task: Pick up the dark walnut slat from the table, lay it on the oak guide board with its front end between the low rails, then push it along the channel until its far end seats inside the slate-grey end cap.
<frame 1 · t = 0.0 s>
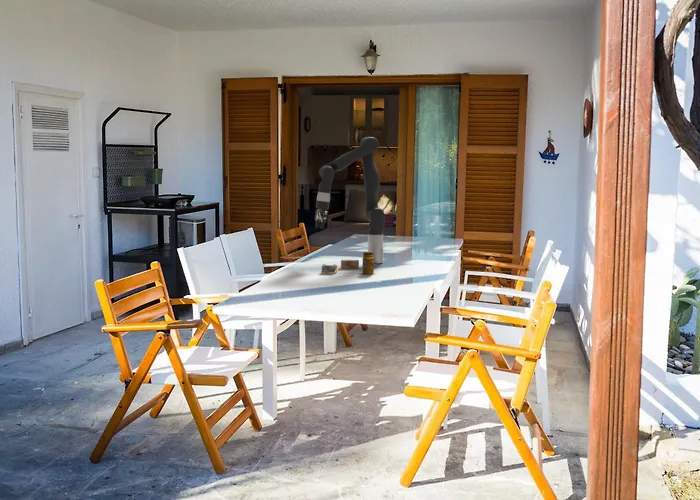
hand: (319, 228, 405), 22 cm above the table, tool pointing down, fingers open, 8 cm apart
guide board: (330, 270, 391), on the table
condiment: (366, 274, 380), on the table
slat: (349, 268, 399), on the table
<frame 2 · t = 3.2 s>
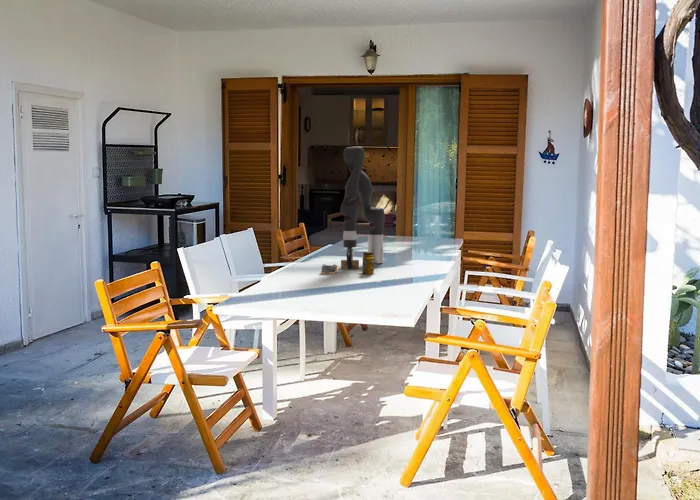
hand: (349, 268, 398), 0 cm above the table, tool pointing down, fingers closed on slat, 3 cm apart
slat: (349, 268, 398), on the table, touching gripper
everything else where it was.
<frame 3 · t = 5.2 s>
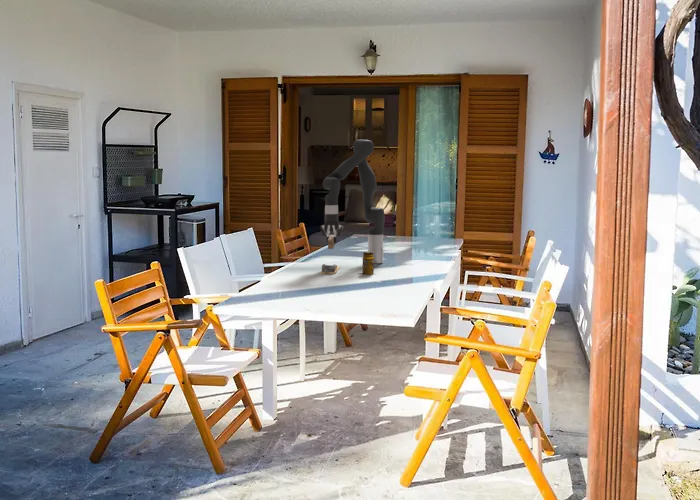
hand: (331, 243, 394), 15 cm above the table, tool pointing down, fingers closed on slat, 3 cm apart
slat: (331, 245, 395), point 13 cm above the table, tilted 13°, touching gripper
everything else where it was.
when the fingers open (3 cm above the table, at t = 7.3 s): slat moves 1 cm, resting on guide board.
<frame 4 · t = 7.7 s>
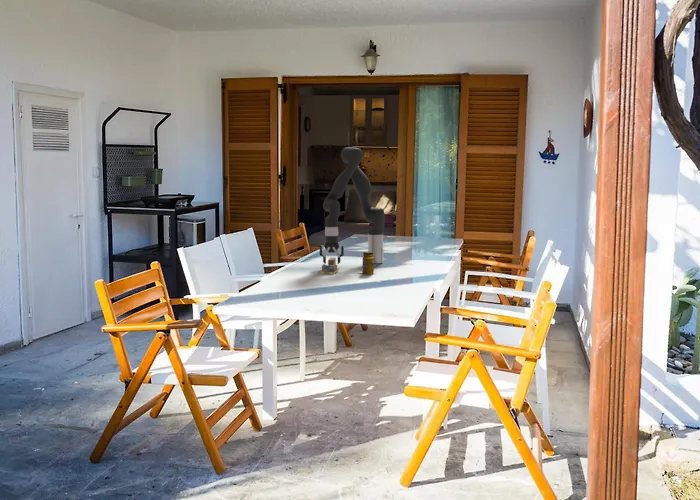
hand: (331, 263, 396), 3 cm above the table, tool pointing down, fingers open, 7 cm apart
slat: (332, 267, 397), point 1 cm above the table, touching guide board
everything else where it was.
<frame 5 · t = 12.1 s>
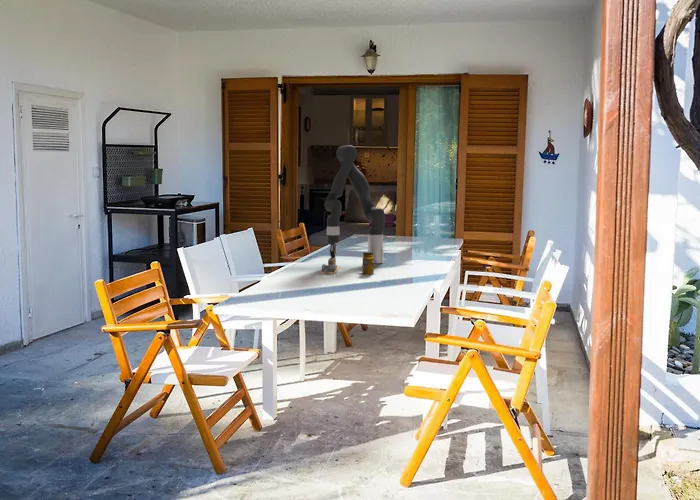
hand: (333, 263, 404), 2 cm above the table, tool pointing down, fingers closed
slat: (332, 267, 396), point 1 cm above the table, touching gripper, guide board
everything else where it was.
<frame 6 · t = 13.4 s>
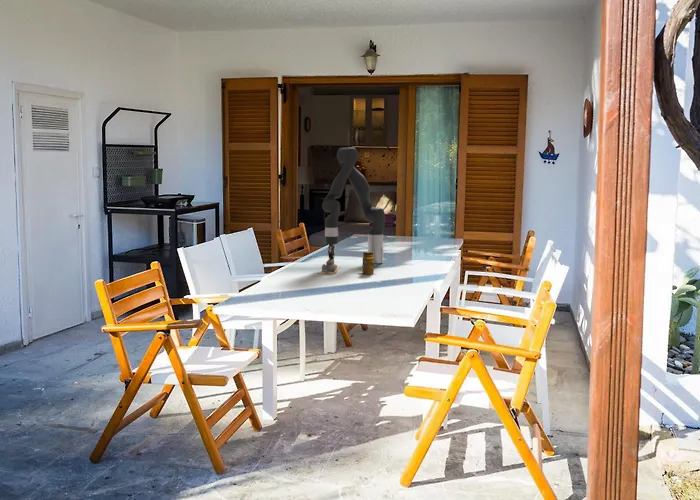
hand: (331, 265, 397), 2 cm above the table, tool pointing down, fingers closed
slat: (330, 269, 389), point 1 cm above the table, touching gripper, guide board
everything else where it was.
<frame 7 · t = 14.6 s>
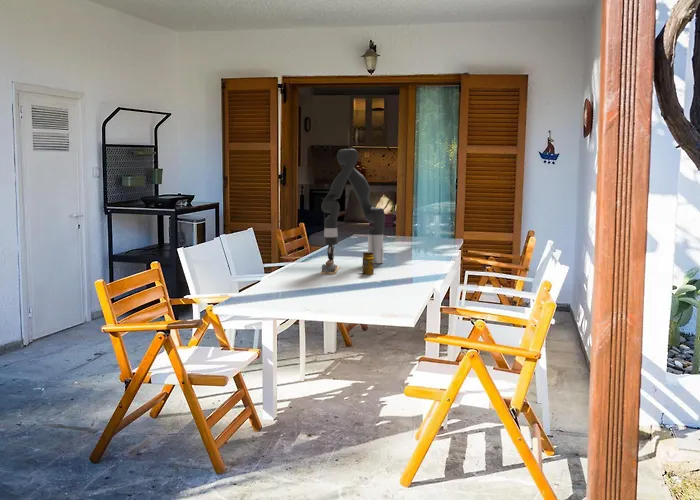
hand: (331, 266, 394), 2 cm above the table, tool pointing down, fingers closed
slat: (329, 270, 386), point 1 cm above the table, touching gripper, guide board
everything else where it was.
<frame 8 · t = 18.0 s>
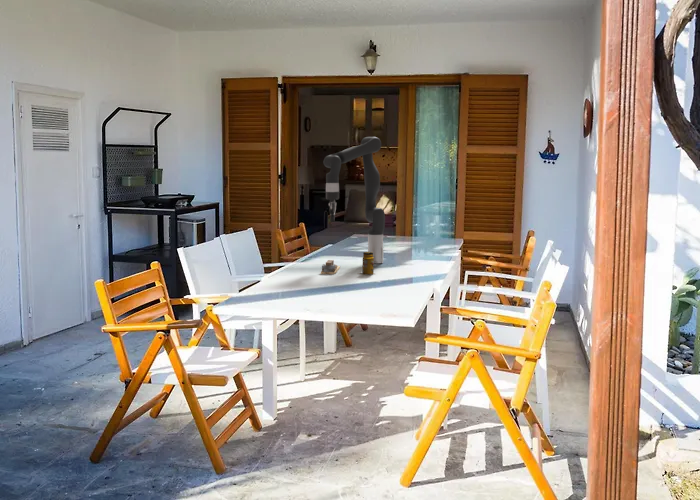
hand: (332, 221, 397), 27 cm above the table, tool pointing down, fingers closed
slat: (329, 270, 386), point 1 cm above the table, touching guide board
everything else where it was.
at the end: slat 0.7 cm from the target spot on the guide board, point 1.0 cm above the guide board's base; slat tilted 0°; the gripper is holding nothing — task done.
